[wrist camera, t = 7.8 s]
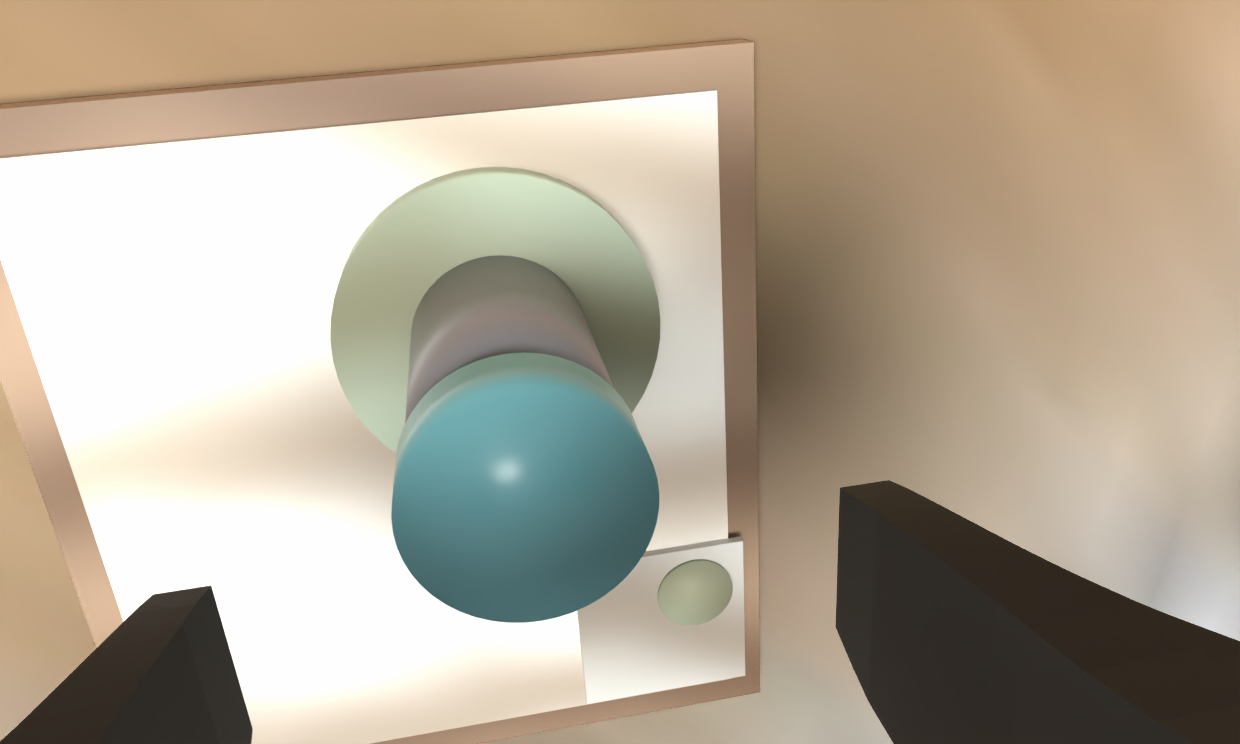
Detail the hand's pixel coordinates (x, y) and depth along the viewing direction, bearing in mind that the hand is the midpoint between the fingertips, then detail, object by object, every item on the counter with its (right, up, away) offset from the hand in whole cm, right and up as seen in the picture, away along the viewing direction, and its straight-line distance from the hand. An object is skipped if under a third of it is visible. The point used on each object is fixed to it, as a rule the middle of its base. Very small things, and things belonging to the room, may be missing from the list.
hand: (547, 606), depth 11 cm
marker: (-2, +3, +8) cm, 9 cm away
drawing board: (-4, +1, +10) cm, 11 cm away
